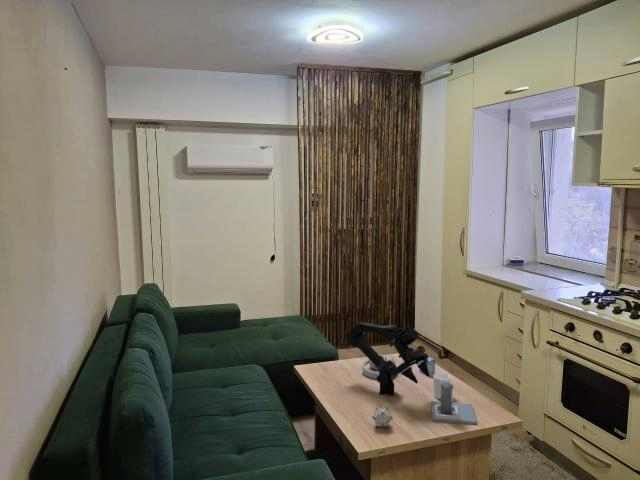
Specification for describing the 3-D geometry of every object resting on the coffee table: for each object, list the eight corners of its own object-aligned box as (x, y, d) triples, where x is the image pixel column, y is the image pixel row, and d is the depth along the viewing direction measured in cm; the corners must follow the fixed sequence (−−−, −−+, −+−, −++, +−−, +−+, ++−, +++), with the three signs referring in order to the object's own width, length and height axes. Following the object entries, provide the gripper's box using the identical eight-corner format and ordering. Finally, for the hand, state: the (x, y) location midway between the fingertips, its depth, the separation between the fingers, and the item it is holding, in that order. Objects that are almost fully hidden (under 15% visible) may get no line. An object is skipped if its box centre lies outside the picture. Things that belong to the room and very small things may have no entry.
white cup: (450, 400, 219) (451, 380, 218) (433, 399, 221) (433, 379, 219) (449, 393, 227) (449, 373, 226) (432, 392, 228) (433, 372, 227)
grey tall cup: (437, 413, 205) (438, 385, 203) (444, 409, 209) (444, 381, 207) (448, 418, 201) (449, 389, 200) (455, 413, 205) (455, 385, 203)
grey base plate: (432, 420, 201) (432, 415, 201) (431, 403, 217) (431, 397, 217) (476, 424, 198) (476, 418, 198) (472, 406, 213) (472, 400, 213)
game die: (384, 437, 196) (386, 426, 189) (367, 425, 200) (368, 414, 193) (395, 420, 201) (397, 409, 194) (378, 408, 205) (379, 398, 198)
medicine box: (419, 371, 253) (419, 356, 252) (425, 370, 255) (426, 354, 254) (428, 377, 246) (428, 361, 245) (435, 375, 248) (435, 359, 246)
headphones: (369, 361, 266) (358, 380, 248) (369, 349, 264) (357, 367, 246) (401, 366, 259) (392, 386, 241) (401, 353, 257) (391, 372, 239)
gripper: (401, 346, 208) (422, 377, 201) (425, 336, 220) (445, 365, 214) (387, 358, 214) (406, 389, 208) (411, 348, 227) (430, 376, 221)
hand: (423, 379), depth 212 cm, fingers open, 9 cm apart
